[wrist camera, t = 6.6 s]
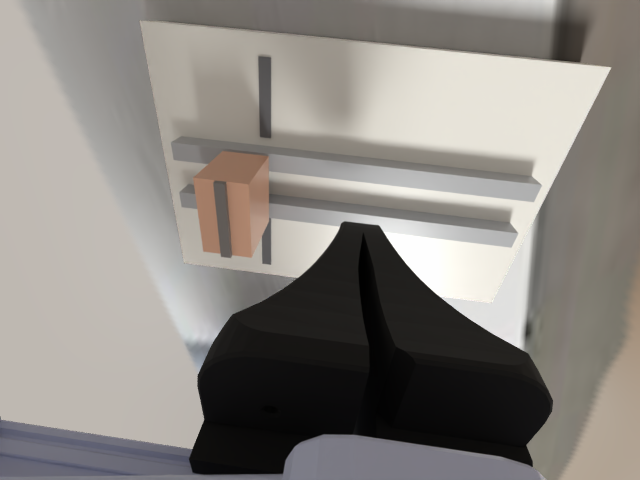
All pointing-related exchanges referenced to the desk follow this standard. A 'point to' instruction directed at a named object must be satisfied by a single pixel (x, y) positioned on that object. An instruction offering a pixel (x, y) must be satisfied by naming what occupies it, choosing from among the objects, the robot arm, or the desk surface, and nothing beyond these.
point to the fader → (233, 203)
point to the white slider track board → (369, 144)
